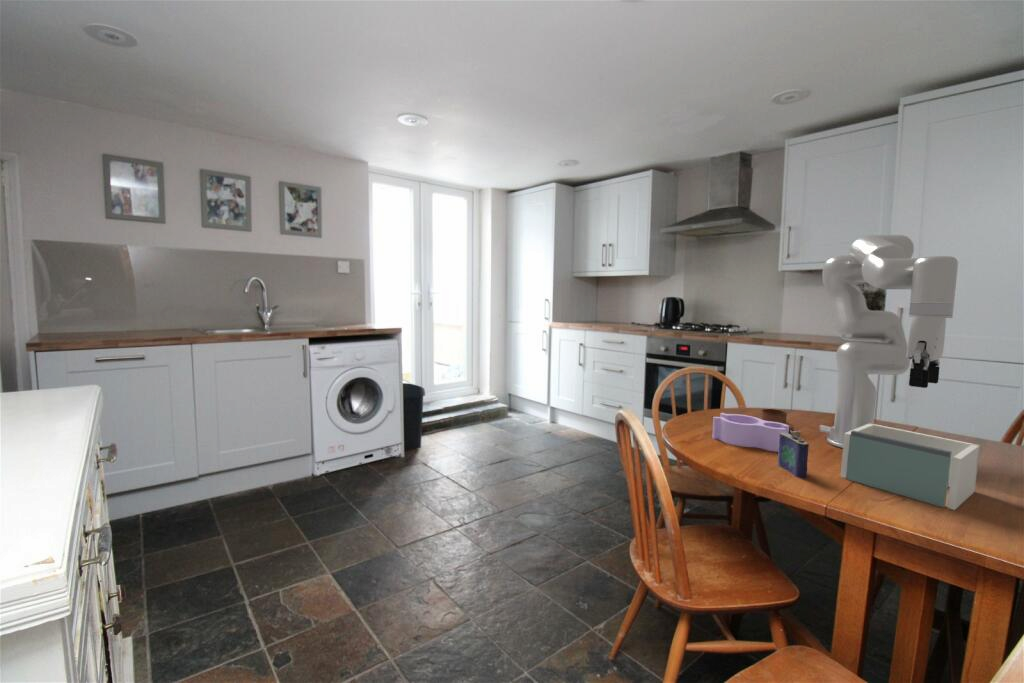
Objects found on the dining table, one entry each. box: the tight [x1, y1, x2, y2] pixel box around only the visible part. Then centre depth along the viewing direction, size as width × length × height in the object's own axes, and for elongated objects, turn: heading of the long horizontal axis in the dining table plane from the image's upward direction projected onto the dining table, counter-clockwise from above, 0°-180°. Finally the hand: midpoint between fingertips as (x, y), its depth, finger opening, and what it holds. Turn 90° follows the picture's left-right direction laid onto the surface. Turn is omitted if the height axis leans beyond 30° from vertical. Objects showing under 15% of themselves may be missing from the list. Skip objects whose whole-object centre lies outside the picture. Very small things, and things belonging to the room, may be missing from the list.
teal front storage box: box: [839, 423, 981, 511], centre depth 111 cm, size 16×21×12 cm
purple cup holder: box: [712, 412, 790, 453], centre depth 144 cm, size 20×12×7 cm, turn 48°
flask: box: [776, 430, 810, 480], centre depth 118 cm, size 10×3×12 cm, turn 1°
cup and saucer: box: [761, 408, 795, 432], centre depth 158 cm, size 12×12×6 cm
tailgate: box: [846, 431, 952, 508], centre depth 106 cm, size 1×18×12 cm, turn 35°
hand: (923, 384), depth 109 cm, fingers open, 9 cm apart
